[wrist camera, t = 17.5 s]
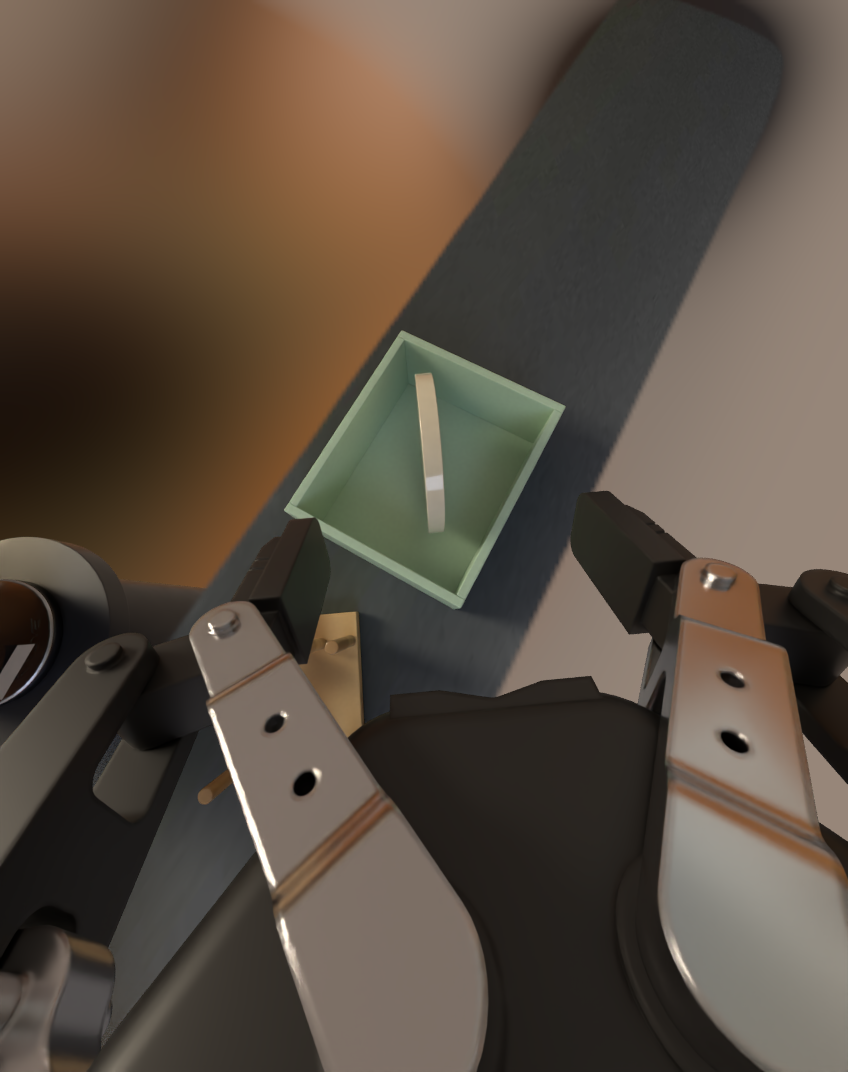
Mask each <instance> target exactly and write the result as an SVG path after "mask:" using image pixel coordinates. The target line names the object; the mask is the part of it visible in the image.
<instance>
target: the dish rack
mask: <svg viewBox="0 0 848 1072" xmlns="http://www.w3.org/2000/svg"><path fill="white" fill-rule="evenodd" d="M299 666H300V668H301V669H302V671H303V672H304V674H305V675H306V677H307V678H308V680H309V681H310V683H311V684H312V686H313V687H314V689H315V690H316V692H317V693H318V695H319V696H320V697H321V699H322V700H323V702H324V703H325V705H326V706H327V708H328V709H329V711H330V712H331V714H332V715H333V717H334V718H335V720H336V721H337V723H338V724H339V726H340V727H341V729H342V730H343V732H344V733H345V735H346V736H347V737H349V736H350V735H351V734H352V733H353V732H355V731H356V730H357V729H358V728H359V727H361V726H362V725H364V709H363V689H362V668H361V648H360V628H359V612H346V613H335V614H324V615H320V617H319V621H318V625H317V629H316V633H315V636H314V640H313V644H312V648H311V652H310V655H309V659H308V663H307V664H301V665H299ZM232 783H233V781H232V778H231V775H230V773H229V770H228V769H227V770H226V771H225V772H223V773H222V774H221V775H219V776H218V777H217V778H216V779H214V780H213V781H212V782H210V783H209V784H208V785H207V786H205V787H204V788H203V789H201V790H200V792H199V794H198V800H199V802H200V803H201V804H208V803H210V802H211V801H212V800H213V799H214V798H215V797H217V796H218V795H219V794H220V793H221V792H222V791H223V790H225V789H226V788H227V787H228V786H229V785H230V784H232Z"/></svg>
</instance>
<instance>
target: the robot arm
mask: <svg viewBox="0 0 848 1072" xmlns="http://www.w3.org/2000/svg"><path fill="white" fill-rule="evenodd" d="M571 548H572V552H573V554H574V556H575V558H576V559H577V561H578V562H579V563H580V565H581V566H582V568H583V569H584V571H585V572H586V573H587V575H588V576H589V578H590V579H591V581H592V582H593V583H594V585H595V586H596V588H597V589H598V591H599V592H600V593H601V595H602V596H603V598H604V599H605V600H606V602H607V603H608V605H609V606H610V608H611V609H612V611H613V612H614V613H615V615H616V616H617V618H618V619H619V621H620V622H621V623H622V625H623V626H624V628H625V629H626V631H627V632H628V634H640V633H649V634H650V635H651V636H652V640H651V642H650V645H649V648H648V653H647V658H646V663H645V668H644V674H643V679H642V684H641V690H640V695H639V699H638V704H636V703H634V702H632V701H629V700H626V699H624V698H621V697H617V696H614V695H609V694H606V693H600V692H599V690H598V688H597V686H596V684H595V682H594V681H593V679H592V677H591V676H585V677H575V678H565V679H554V680H544V681H540V682H537V683H534V684H531V685H529V686H526V687H523V688H521V689H518V690H515V691H512V692H510V693H507V694H504V695H501V696H499V697H494V698H490V697H482V696H475V695H468V694H461V693H454V692H447V691H440V690H439V691H429V692H418V693H408V694H397V695H390V712H387V713H385V714H382V715H380V716H378V717H376V718H374V719H372V720H370V721H369V722H367V723H366V724H364V725H362V726H361V727H359V728H358V729H357V730H356V731H355V732H353V733H352V734H351V735H350V736H349V737H347V736H346V735H345V733H344V732H343V730H342V729H341V727H340V726H339V724H338V723H337V721H336V720H335V718H334V717H333V715H332V714H331V712H330V711H329V709H328V708H327V706H326V705H325V703H324V702H323V700H322V699H321V697H320V696H319V695H318V693H317V692H316V690H315V689H314V687H313V686H312V684H311V683H310V681H309V680H308V678H307V677H306V675H305V674H304V672H303V671H302V669H301V668H300V666H299V665H301V664H307V663H308V659H309V655H310V652H311V648H312V644H313V640H314V636H315V633H316V629H317V625H318V621H319V617H320V614H321V610H322V606H323V602H324V598H325V594H326V591H327V587H328V583H329V579H330V561H329V556H328V553H327V549H326V546H325V542H324V538H323V535H322V531H321V527H320V524H319V521H318V519H317V518H316V517H313V518H302V519H292V520H290V521H289V522H288V524H287V526H286V528H285V530H284V532H283V534H282V536H281V537H274V538H273V539H272V540H270V541H269V542H268V543H267V544H266V545H264V546H263V547H262V548H261V550H260V552H259V553H258V555H257V557H256V558H255V561H254V562H253V564H252V565H251V567H250V571H248V572H247V574H246V576H245V577H244V579H243V581H242V583H241V584H240V586H239V588H238V590H237V591H236V593H235V595H234V596H233V598H232V600H231V602H230V603H226V604H223V605H220V606H218V607H216V608H214V609H212V610H210V611H209V612H207V613H206V614H204V615H203V616H202V617H201V618H200V619H199V620H197V622H196V623H195V624H194V625H193V627H192V629H191V631H190V634H189V635H187V636H184V637H181V638H178V639H174V640H171V641H168V642H165V643H162V644H159V645H156V646H153V647H152V645H151V644H150V642H149V641H148V640H147V638H146V637H145V636H144V635H142V634H139V633H125V634H120V635H117V636H114V637H111V638H109V639H106V640H104V641H102V642H100V643H98V644H96V645H95V646H93V647H92V648H90V649H88V650H87V651H86V652H84V653H83V654H82V655H81V656H79V657H78V658H77V659H76V660H75V661H74V662H73V663H72V664H71V665H70V667H69V668H68V669H67V670H66V671H65V672H64V674H63V675H62V676H61V677H60V678H59V679H58V681H57V682H56V683H55V684H54V685H53V686H52V688H51V689H50V690H49V691H48V692H47V693H46V695H45V696H44V697H43V698H42V699H41V700H40V702H39V703H38V704H37V705H36V706H35V707H34V709H33V710H32V711H31V712H30V713H29V714H28V716H27V717H26V718H25V719H24V720H23V722H22V723H21V724H20V725H19V726H18V727H17V729H16V730H15V731H14V732H13V733H12V734H11V736H10V737H9V738H8V739H7V740H6V741H5V743H4V744H3V745H2V746H1V747H0V1072H848V841H846V840H845V839H843V838H842V837H840V836H839V835H837V834H836V833H834V832H833V831H831V830H830V829H828V828H827V827H825V826H824V825H822V824H821V823H819V822H818V817H817V812H816V806H815V800H814V795H813V790H812V784H811V779H810V773H809V768H808V762H807V757H806V751H805V746H804V740H803V735H802V733H803V734H804V735H805V736H806V738H807V739H808V740H809V741H810V742H811V743H812V744H813V746H814V747H815V748H816V749H817V750H818V751H819V752H820V753H821V755H822V756H823V757H824V758H825V759H826V760H827V761H828V763H829V764H830V765H831V766H832V767H833V768H834V769H835V770H836V772H837V773H838V774H839V775H840V776H841V777H842V779H843V780H844V781H845V782H846V783H847V784H848V683H847V682H846V681H845V680H844V679H843V678H842V677H841V676H840V674H841V673H842V672H843V671H844V670H845V668H847V666H848V574H846V573H842V572H838V571H832V570H823V569H814V570H809V571H805V572H803V573H802V574H801V575H800V577H799V579H798V580H797V582H796V583H795V585H794V587H785V586H776V585H767V584H758V583H757V581H756V580H755V579H754V578H753V576H751V575H750V574H749V573H748V572H746V571H744V570H743V569H741V568H739V567H737V566H735V565H733V564H730V563H727V562H724V561H720V560H716V559H710V558H696V557H695V556H694V555H693V554H692V553H690V552H689V551H688V550H687V549H686V548H685V547H683V546H682V545H681V544H680V543H679V542H677V541H676V540H675V539H674V538H673V537H672V536H670V535H669V534H668V533H665V532H664V530H663V529H662V528H661V527H660V526H659V525H655V522H654V521H653V520H651V519H650V518H649V517H648V516H647V515H645V514H644V513H643V512H641V511H639V510H636V509H634V508H632V507H630V506H628V505H624V504H623V503H622V502H621V501H620V500H618V499H617V498H616V497H615V496H614V495H613V494H612V493H611V492H609V491H599V492H588V493H581V494H580V495H579V497H578V500H577V504H576V510H575V515H574V521H573V527H572V532H571ZM62 636H63V621H62V616H61V612H60V609H59V606H58V604H57V603H56V601H55V599H54V598H53V597H52V596H51V594H50V593H49V592H48V591H46V590H45V589H44V588H42V587H41V586H39V585H37V584H34V583H31V582H28V581H21V580H8V579H1V580H0V705H4V704H7V703H10V702H12V701H14V700H17V699H18V698H20V697H22V696H24V695H25V694H26V693H28V692H29V691H31V690H32V689H33V688H34V687H35V686H36V685H37V684H38V683H39V682H40V681H41V680H42V679H43V678H44V677H45V675H46V674H47V673H48V671H49V670H50V668H51V667H52V665H53V663H54V661H55V659H56V657H57V655H58V652H59V649H60V646H61V642H62ZM211 725H213V726H214V729H215V732H216V735H217V738H218V741H219V744H220V746H221V749H222V752H223V755H224V758H225V761H226V764H227V767H228V770H229V773H230V775H231V778H232V781H233V784H234V787H235V790H236V793H237V796H238V799H239V801H240V804H241V807H242V810H243V813H244V816H245V819H246V822H247V825H248V828H249V830H250V833H251V836H252V839H253V842H254V845H255V848H256V852H255V853H254V854H253V856H252V857H251V858H250V859H249V861H248V862H247V863H246V864H245V866H244V867H243V868H242V870H241V871H240V872H239V873H238V875H237V876H236V877H235V878H234V880H233V881H232V882H231V884H230V885H229V886H228V887H227V889H226V890H225V891H224V892H223V894H222V895H221V896H220V898H219V899H218V900H217V901H216V903H215V904H214V905H213V906H212V908H211V909H210V910H209V912H208V913H207V914H206V915H205V917H204V918H203V919H202V920H201V922H200V923H199V924H198V926H197V927H196V928H195V929H194V931H193V932H192V933H191V934H190V936H189V937H188V938H187V940H186V941H185V942H184V943H183V945H182V946H181V947H180V948H179V950H178V951H177V952H176V953H175V955H174V956H173V957H172V959H171V960H170V961H169V962H168V964H167V965H166V966H165V967H164V969H163V970H162V971H161V973H160V974H159V975H158V976H157V978H156V979H155V980H154V981H153V983H152V984H151V985H150V987H149V988H148V989H147V990H146V992H145V993H144V994H143V995H142V997H141V998H140V999H139V1001H138V1002H137V1003H136V1004H135V1006H134V1007H133V1008H132V1009H131V1011H130V1012H129V1013H128V1015H127V1016H126V1017H125V1018H124V1020H123V1021H122V1022H121V1023H120V1025H119V1026H118V1027H117V1029H116V1030H115V1031H114V1033H113V1034H112V1035H111V1037H110V1038H109V1039H108V1041H107V1042H106V1044H105V1045H104V1046H103V1048H102V1049H101V1038H102V1037H103V1035H104V1033H105V1031H106V1029H107V1027H108V1024H109V1022H110V1018H111V1014H112V1001H111V996H112V993H113V988H114V982H115V962H114V958H113V955H112V953H111V951H110V950H109V949H108V947H109V944H110V942H111V940H112V937H113V935H114V933H115V930H116V928H117V925H118V923H119V921H120V918H121V916H122V913H123V911H124V909H125V906H126V904H127V901H128V899H129V897H130V894H131V892H132V889H133V887H134V885H135V882H136V880H137V878H138V875H139V873H140V870H141V868H142V866H143V863H144V861H145V858H146V856H147V854H148V851H149V849H150V846H151V844H152V842H153V839H154V837H155V835H156V832H157V830H158V827H159V825H160V823H161V820H162V818H163V815H164V813H165V811H166V808H167V806H168V803H169V801H170V799H171V796H172V794H173V791H174V789H175V787H176V784H177V782H178V780H179V777H180V775H181V772H182V770H183V768H184V765H185V763H186V760H187V758H188V756H189V753H190V751H191V748H192V746H193V744H194V741H195V739H196V737H197V734H198V732H199V730H201V729H203V728H206V727H208V726H211ZM116 734H118V735H119V736H120V737H121V738H122V740H121V742H120V744H119V746H118V747H117V749H116V751H115V752H114V754H113V756H112V757H111V759H110V761H109V763H108V764H107V766H106V768H105V769H104V771H103V773H102V774H101V776H100V778H99V780H98V781H97V783H96V785H95V786H94V788H93V787H92V783H93V776H94V773H95V770H96V768H97V766H98V764H99V762H100V760H101V759H102V757H103V756H104V754H105V752H106V751H107V749H108V747H109V746H110V744H111V742H112V741H113V739H114V738H115V736H116Z"/></svg>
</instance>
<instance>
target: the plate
mask: <svg viewBox="0 0 848 1072" xmlns="http://www.w3.org/2000/svg"><path fill="white" fill-rule="evenodd" d="M414 380H415V396H416V410H417V422H418V435H419V446H420V458H421V469H422V480H423V491H424V501H425V511H426V520H427V528H428V533H429V534H432V533H443V532H444V529H445V494H444V475H443V460H442V447H441V435H440V425H439V415H438V406H437V398H436V391H435V385H434V380H433V376H432V373H431V372H427V373H416V374H415V375H414Z"/></svg>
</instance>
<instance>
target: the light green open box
mask: <svg viewBox="0 0 848 1072" xmlns="http://www.w3.org/2000/svg"><path fill="white" fill-rule="evenodd" d="M427 372H431V373H432V376H433V380H434V385H435V391H436V398H437V406H438V415H439V425H440V435H441V447H442V460H443V475H444V494H445V529H444V532H443V533H432V534H429V533H428V528H427V520H426V511H425V501H424V491H423V480H422V469H421V458H420V446H419V435H418V422H417V410H416V396H415V380H414V375H415V374H416V373H427ZM564 409H565V406H564V405H562V404H560V403H557V402H555V401H553V400H551V399H549V398H547V397H544V396H542V395H540V394H538V393H536V392H534V391H531V390H529V389H527V388H525V387H523V386H521V385H519V384H516V383H514V382H512V381H510V380H508V379H506V378H503V377H501V376H499V375H497V374H495V373H493V372H491V371H488V370H486V369H484V368H482V367H480V366H478V365H475V364H473V363H471V362H469V361H467V360H465V359H463V358H460V357H458V356H456V355H454V354H452V353H450V352H447V351H445V350H443V349H441V348H439V347H437V346H435V345H432V344H430V343H428V342H426V341H424V340H422V339H419V338H417V337H415V336H413V335H411V334H409V333H407V332H404V331H401V332H400V334H399V335H398V337H397V338H396V340H395V341H394V343H393V344H392V346H391V347H390V349H389V351H388V352H387V354H386V355H385V357H384V358H383V360H382V361H381V363H380V364H379V366H378V367H377V369H376V370H375V372H374V373H373V375H372V377H371V378H370V380H369V381H368V383H367V384H366V386H365V387H364V389H363V390H362V392H361V393H360V395H359V396H358V398H357V399H356V401H355V403H354V404H353V406H352V407H351V409H350V410H349V412H348V413H347V415H346V416H345V418H344V419H343V421H342V422H341V424H340V425H339V427H338V429H337V430H336V432H335V433H334V435H333V436H332V438H331V439H330V441H329V442H328V444H327V445H326V447H325V448H324V450H323V451H322V453H321V455H320V456H319V458H318V459H317V461H316V462H315V464H314V465H313V467H312V468H311V470H310V471H309V473H308V474H307V476H306V477H305V479H304V481H303V482H302V484H301V485H300V487H299V488H298V490H297V491H296V493H295V494H294V496H293V497H292V499H291V500H290V503H289V504H288V505H287V507H286V508H285V510H284V511H285V512H287V513H288V514H290V515H291V516H293V517H294V518H295V519H302V518H313V517H316V518H317V519H318V521H319V524H320V527H321V531H322V535H323V537H325V538H327V539H329V540H331V541H332V542H334V543H336V544H338V545H340V546H341V547H343V548H345V549H347V550H349V551H350V552H352V553H354V554H356V555H358V556H359V557H361V558H363V559H365V560H367V561H368V562H370V563H372V564H374V565H375V566H377V567H379V568H381V569H383V570H384V571H386V572H388V573H390V574H392V575H393V576H395V577H397V578H399V579H401V580H402V581H404V582H406V583H408V584H410V585H411V586H413V587H415V588H417V589H419V590H420V591H422V592H424V593H426V594H428V595H429V596H431V597H433V598H435V599H436V600H438V601H440V602H442V603H444V604H445V605H447V606H449V607H451V608H453V609H459V608H461V607H462V605H463V603H464V601H465V599H466V597H467V596H468V594H469V592H470V590H471V588H472V586H473V584H474V582H475V580H476V578H477V576H478V574H479V572H480V571H481V569H482V567H483V565H484V563H485V561H486V559H487V557H488V555H489V553H490V551H491V549H492V547H493V546H494V544H495V542H496V540H497V538H498V536H499V534H500V532H501V530H502V528H503V526H504V524H505V523H506V521H507V519H508V517H509V515H510V513H511V511H512V509H513V507H514V505H515V503H516V501H517V499H518V498H519V496H520V494H521V492H522V490H523V488H524V486H525V484H526V482H527V480H528V478H529V476H530V474H531V473H532V471H533V469H534V467H535V465H536V463H537V461H538V459H539V457H540V455H541V453H542V451H543V449H544V448H545V446H546V444H547V442H548V440H549V438H550V436H551V434H552V432H553V430H554V428H555V426H556V424H557V423H558V421H559V419H560V417H561V415H562V413H563V411H564Z"/></svg>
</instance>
